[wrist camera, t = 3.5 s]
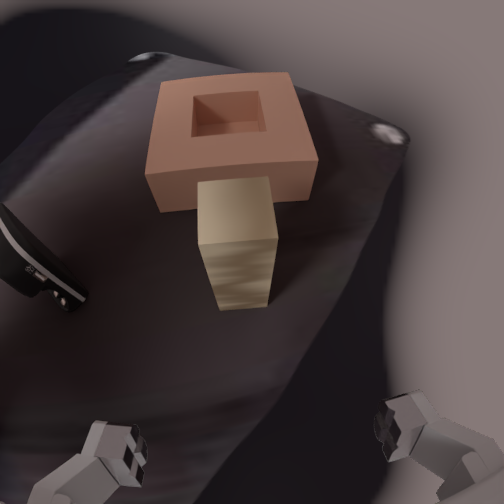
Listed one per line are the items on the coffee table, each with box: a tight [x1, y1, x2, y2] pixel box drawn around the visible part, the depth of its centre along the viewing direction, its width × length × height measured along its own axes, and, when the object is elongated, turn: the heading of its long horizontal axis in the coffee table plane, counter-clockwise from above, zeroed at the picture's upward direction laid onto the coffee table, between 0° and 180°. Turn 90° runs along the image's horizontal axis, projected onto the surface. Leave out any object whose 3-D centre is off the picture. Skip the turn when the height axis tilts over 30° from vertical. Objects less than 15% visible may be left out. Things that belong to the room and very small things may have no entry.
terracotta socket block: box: [145, 72, 319, 213], centre depth 32 cm, size 15×15×6 cm
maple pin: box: [198, 176, 278, 311], centre depth 22 cm, size 4×4×12 cm
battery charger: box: [0, 203, 88, 312], centre depth 22 cm, size 7×4×11 cm, turn 54°
